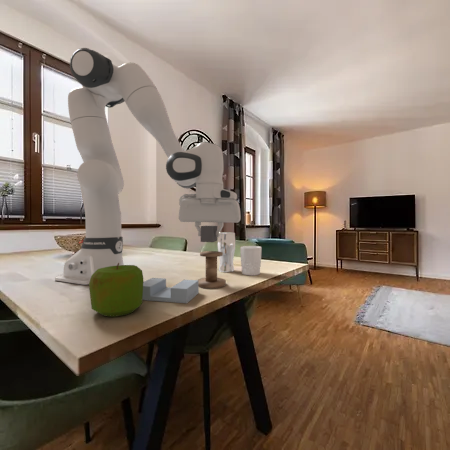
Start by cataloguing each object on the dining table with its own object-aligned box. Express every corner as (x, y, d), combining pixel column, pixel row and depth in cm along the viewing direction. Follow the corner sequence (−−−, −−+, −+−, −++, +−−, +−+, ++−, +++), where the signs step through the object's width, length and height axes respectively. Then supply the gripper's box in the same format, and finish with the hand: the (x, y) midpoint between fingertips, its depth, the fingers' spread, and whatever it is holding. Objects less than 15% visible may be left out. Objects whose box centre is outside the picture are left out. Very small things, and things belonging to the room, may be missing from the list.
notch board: (135, 299, 67) (134, 285, 66) (152, 289, 75) (152, 277, 75) (186, 303, 64) (186, 288, 63) (198, 292, 72) (198, 280, 72)
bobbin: (192, 287, 78) (192, 254, 78) (201, 280, 87) (201, 250, 86) (222, 289, 76) (222, 255, 76) (228, 281, 85) (228, 251, 85)
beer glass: (224, 268, 108) (224, 232, 107) (238, 270, 104) (238, 232, 103) (213, 271, 102) (214, 232, 102) (228, 273, 98) (228, 233, 98)
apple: (133, 300, 66) (132, 257, 66) (152, 312, 58) (152, 262, 57) (84, 310, 58) (83, 262, 58) (98, 325, 50) (97, 269, 50)
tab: (200, 241, 83) (200, 226, 83) (205, 240, 89) (205, 225, 89) (212, 242, 82) (213, 226, 82) (217, 240, 88) (217, 225, 88)
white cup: (260, 276, 93) (260, 248, 93) (238, 275, 95) (238, 247, 94) (262, 271, 101) (262, 246, 101) (241, 271, 102) (241, 245, 102)
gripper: (175, 193, 84) (175, 236, 84) (238, 192, 80) (238, 237, 80) (182, 194, 90) (182, 235, 90) (241, 194, 86) (241, 236, 86)
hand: (209, 236), depth 85 cm, fingers closed on tab, 4 cm apart
